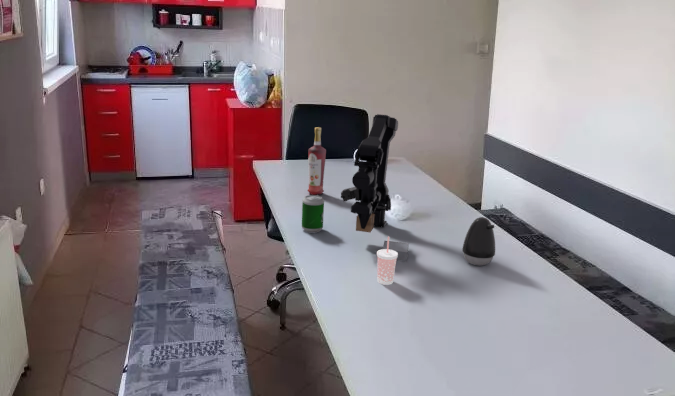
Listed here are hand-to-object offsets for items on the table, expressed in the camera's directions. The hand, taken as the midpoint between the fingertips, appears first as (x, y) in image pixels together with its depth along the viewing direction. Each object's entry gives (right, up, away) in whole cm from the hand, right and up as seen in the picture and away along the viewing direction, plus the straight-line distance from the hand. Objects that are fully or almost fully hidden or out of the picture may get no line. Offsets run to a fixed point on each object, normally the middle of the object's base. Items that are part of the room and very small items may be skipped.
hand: (364, 226), depth 211 cm
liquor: (-18, +11, +53) cm, 57 cm away
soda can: (-18, -2, +12) cm, 22 cm away
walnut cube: (0, -1, 0) cm, 1 cm away
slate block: (+9, -9, -7) cm, 15 cm away
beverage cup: (+5, -15, -27) cm, 31 cm away
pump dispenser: (+35, -11, -10) cm, 39 cm away
